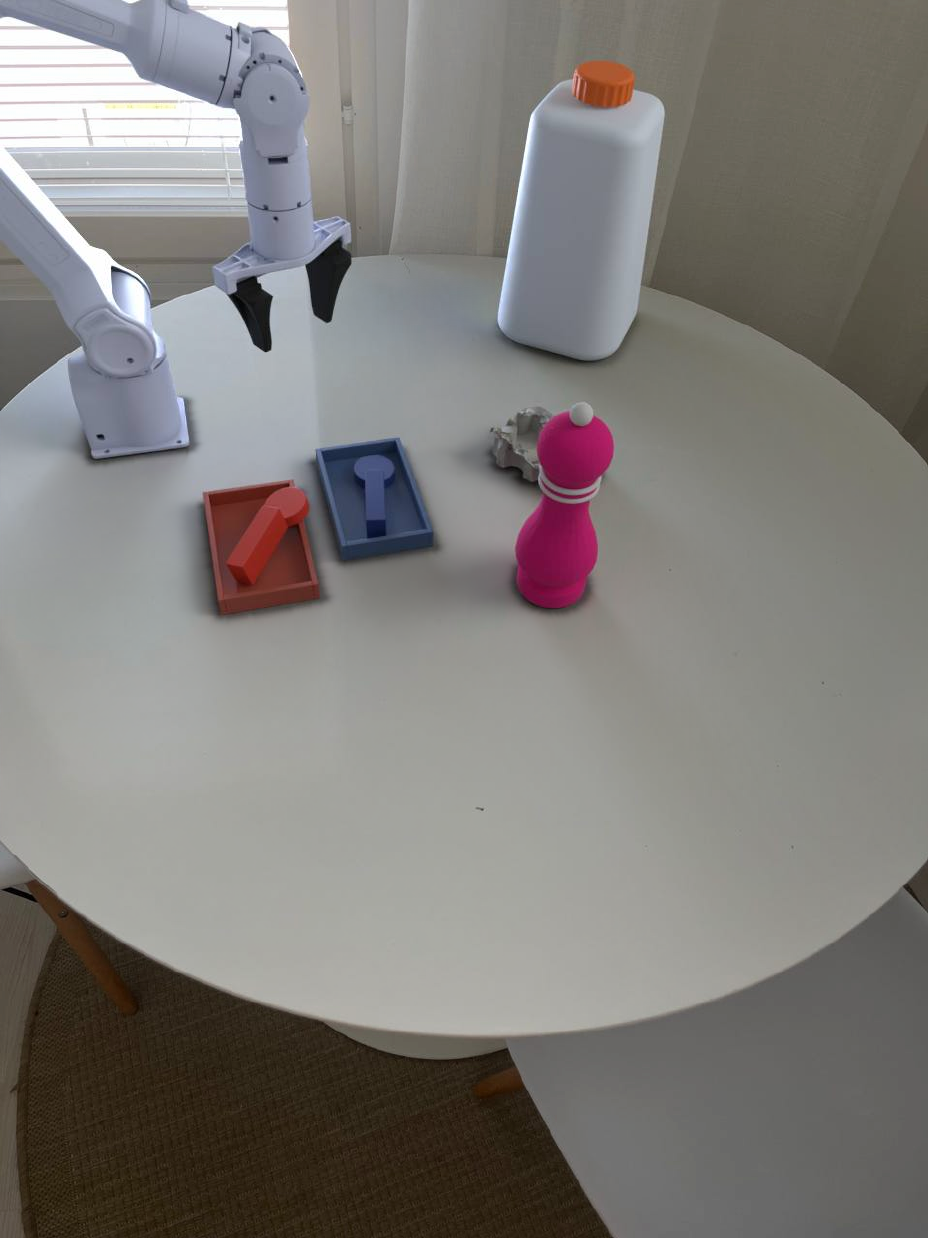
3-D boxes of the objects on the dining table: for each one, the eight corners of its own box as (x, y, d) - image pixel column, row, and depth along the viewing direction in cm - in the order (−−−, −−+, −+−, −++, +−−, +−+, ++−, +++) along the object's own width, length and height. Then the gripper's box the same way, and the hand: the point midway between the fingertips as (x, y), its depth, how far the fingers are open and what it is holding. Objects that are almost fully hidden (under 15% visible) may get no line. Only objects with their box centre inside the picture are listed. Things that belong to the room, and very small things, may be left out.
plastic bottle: (642, 308, 114) (697, 60, 92) (608, 373, 104) (660, 114, 83) (529, 278, 117) (557, 32, 95) (486, 339, 108) (506, 81, 86)
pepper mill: (584, 620, 80) (627, 442, 65) (504, 605, 81) (528, 426, 66) (593, 562, 85) (635, 384, 70) (517, 548, 86) (542, 368, 70)
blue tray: (342, 561, 84) (341, 546, 82) (316, 463, 92) (315, 448, 91) (433, 546, 85) (433, 531, 84) (399, 451, 94) (399, 436, 92)
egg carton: (482, 458, 94) (484, 426, 91) (525, 425, 98) (529, 393, 95) (566, 506, 90) (571, 474, 87) (607, 469, 94) (614, 437, 91)
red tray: (221, 615, 79) (218, 600, 77) (205, 506, 87) (202, 491, 86) (320, 598, 81) (318, 583, 79) (295, 493, 89) (293, 478, 88)
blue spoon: (398, 539, 85) (397, 519, 83) (355, 540, 85) (354, 520, 83) (393, 463, 92) (393, 443, 90) (354, 464, 92) (352, 444, 90)
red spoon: (263, 587, 80) (253, 569, 78) (225, 579, 81) (214, 561, 79) (316, 499, 85) (308, 479, 83) (280, 492, 87) (271, 473, 84)
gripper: (313, 157, 85) (323, 290, 95) (182, 204, 78) (208, 342, 88) (363, 184, 82) (368, 318, 92) (231, 235, 75) (252, 374, 85)
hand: (293, 332), depth 90 cm, fingers open, 7 cm apart
